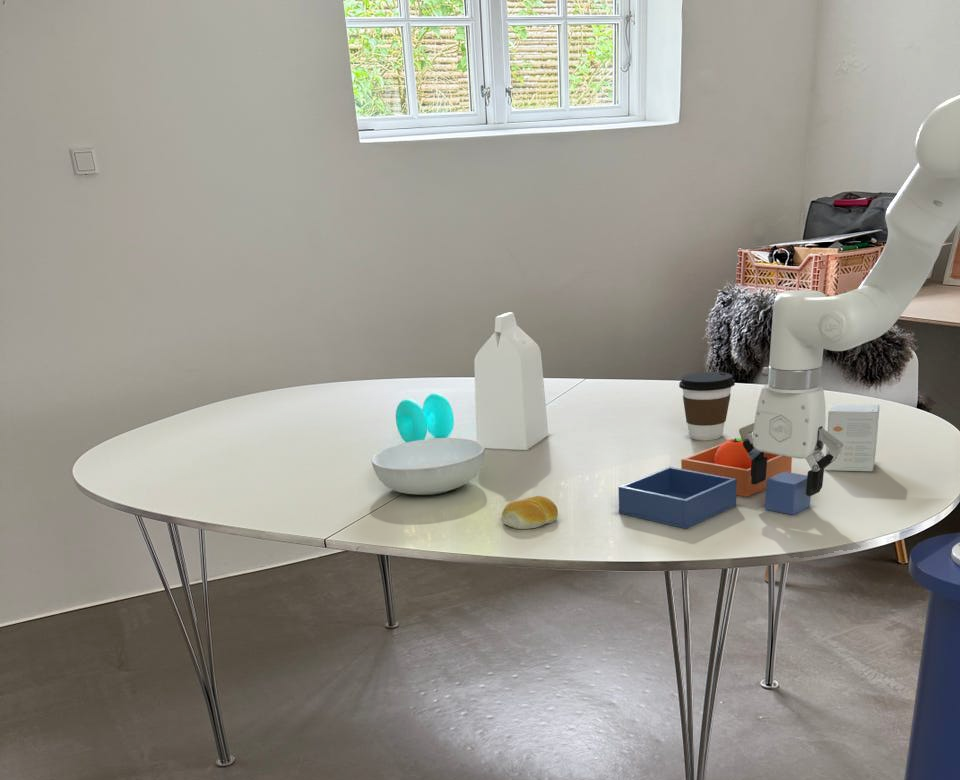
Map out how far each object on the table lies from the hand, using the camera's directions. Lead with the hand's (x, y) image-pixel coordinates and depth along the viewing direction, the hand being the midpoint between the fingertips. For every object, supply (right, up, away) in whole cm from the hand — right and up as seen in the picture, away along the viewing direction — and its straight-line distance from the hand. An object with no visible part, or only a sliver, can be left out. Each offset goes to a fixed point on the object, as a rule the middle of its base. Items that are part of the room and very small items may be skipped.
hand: (785, 488), depth 150 cm
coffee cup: (-2, +17, +44) cm, 47 cm away
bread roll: (-40, -5, +6) cm, 41 cm away
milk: (-41, +18, +53) cm, 70 cm away
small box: (+17, +6, +18) cm, 25 cm away
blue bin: (-16, -3, +5) cm, 17 cm away
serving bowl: (-57, +4, +27) cm, 64 cm away
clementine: (-3, +4, +16) cm, 17 cm away
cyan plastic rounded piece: (-60, +20, +59) cm, 87 cm away
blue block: (+1, -3, +1) cm, 3 cm away
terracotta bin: (-4, +4, +16) cm, 17 cm away
